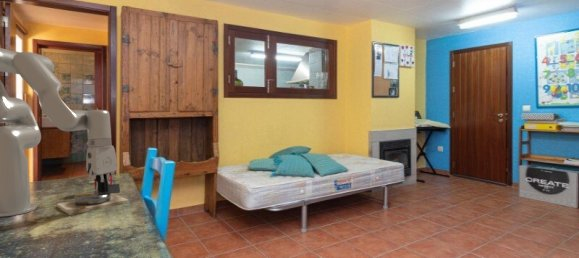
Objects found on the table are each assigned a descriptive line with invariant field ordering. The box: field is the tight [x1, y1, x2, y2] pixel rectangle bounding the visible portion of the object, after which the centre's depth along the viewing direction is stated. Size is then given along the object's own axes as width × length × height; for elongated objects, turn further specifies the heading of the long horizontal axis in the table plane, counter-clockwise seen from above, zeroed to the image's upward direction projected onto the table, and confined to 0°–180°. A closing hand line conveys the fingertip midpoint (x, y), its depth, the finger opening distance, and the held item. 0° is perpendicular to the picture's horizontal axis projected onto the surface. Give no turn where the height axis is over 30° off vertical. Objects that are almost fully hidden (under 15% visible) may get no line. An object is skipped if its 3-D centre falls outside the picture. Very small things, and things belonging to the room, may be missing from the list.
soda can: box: [93, 174, 114, 191], centre depth 147 cm, size 7×7×12 cm
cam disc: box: [74, 183, 121, 205], centre depth 129 cm, size 14×12×6 cm
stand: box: [56, 193, 129, 216], centre depth 128 cm, size 20×16×3 cm
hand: (103, 191), depth 123 cm, fingers closed
